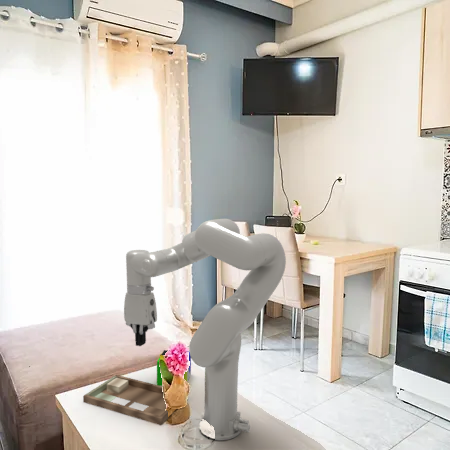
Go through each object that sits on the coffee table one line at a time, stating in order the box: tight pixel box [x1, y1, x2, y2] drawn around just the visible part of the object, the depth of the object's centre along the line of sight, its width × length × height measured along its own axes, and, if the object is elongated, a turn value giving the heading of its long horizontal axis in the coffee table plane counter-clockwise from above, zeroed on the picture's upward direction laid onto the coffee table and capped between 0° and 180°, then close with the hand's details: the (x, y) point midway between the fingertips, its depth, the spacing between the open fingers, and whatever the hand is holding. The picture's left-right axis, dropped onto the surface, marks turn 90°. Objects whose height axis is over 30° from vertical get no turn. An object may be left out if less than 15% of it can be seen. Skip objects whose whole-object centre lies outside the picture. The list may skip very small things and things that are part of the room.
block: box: [107, 378, 128, 394], centre depth 136 cm, size 5×5×2 cm
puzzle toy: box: [156, 349, 192, 387], centre depth 144 cm, size 10×10×10 cm
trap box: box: [83, 374, 169, 426], centre depth 130 cm, size 29×16×4 cm, turn 66°
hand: (140, 344), depth 131 cm, fingers closed
